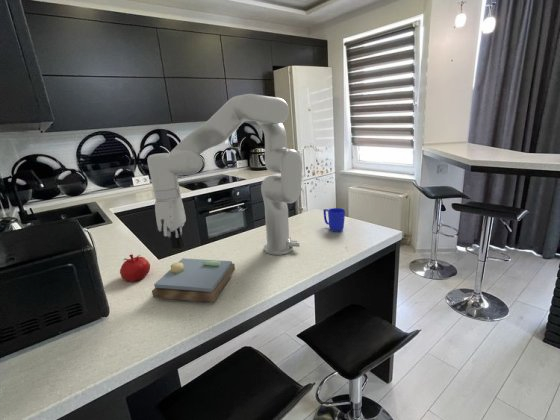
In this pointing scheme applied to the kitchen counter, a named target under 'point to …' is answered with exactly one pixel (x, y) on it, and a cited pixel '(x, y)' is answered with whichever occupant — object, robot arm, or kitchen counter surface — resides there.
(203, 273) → the plate
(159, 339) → the kitchen counter surface
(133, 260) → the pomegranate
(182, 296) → the wooden board
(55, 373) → the kitchen counter surface
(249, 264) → the kitchen counter surface
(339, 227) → the mug
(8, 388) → the kitchen counter surface
